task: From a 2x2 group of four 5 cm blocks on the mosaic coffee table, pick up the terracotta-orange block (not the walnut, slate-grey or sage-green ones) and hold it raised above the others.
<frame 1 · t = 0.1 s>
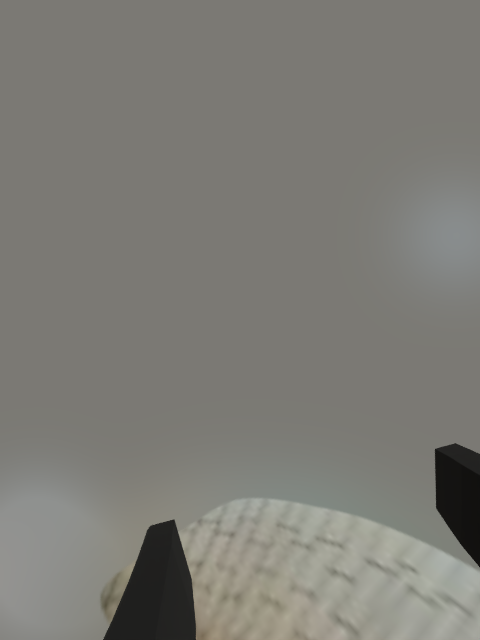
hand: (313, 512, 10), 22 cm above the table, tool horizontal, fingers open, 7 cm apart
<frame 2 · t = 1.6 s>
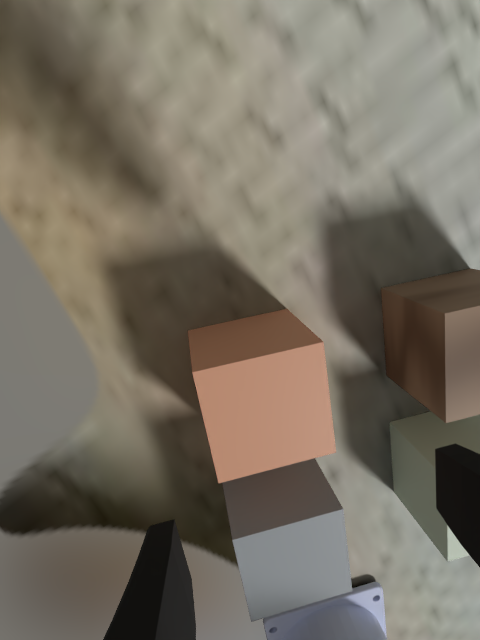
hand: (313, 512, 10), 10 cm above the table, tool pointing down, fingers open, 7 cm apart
terracotta block: (246, 364, 20), on the table
walnut block: (426, 322, 21), on the table
slate block: (269, 489, 22), on the table
sage block: (429, 446, 23), on the table
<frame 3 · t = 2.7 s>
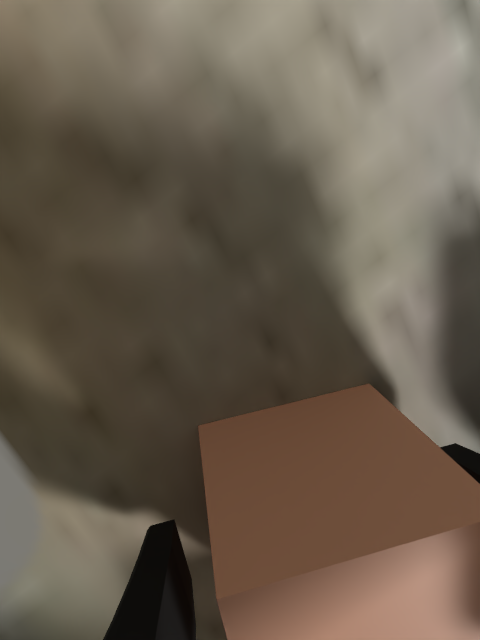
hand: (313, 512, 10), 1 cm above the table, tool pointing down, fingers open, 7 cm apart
terracotta block: (296, 474, 12), on the table
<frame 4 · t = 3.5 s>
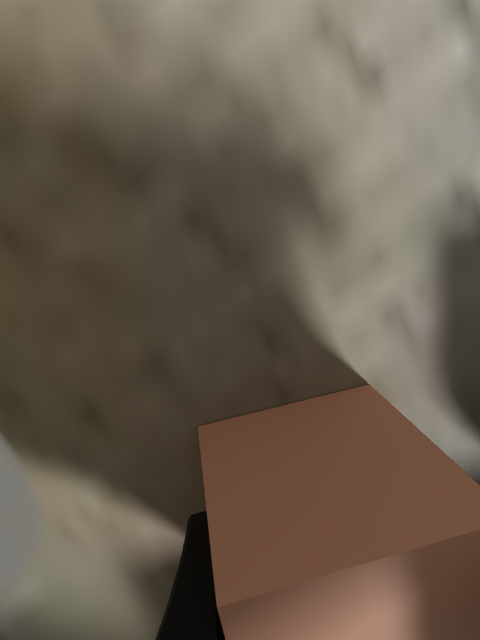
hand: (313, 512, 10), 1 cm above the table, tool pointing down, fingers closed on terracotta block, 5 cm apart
terracotta block: (296, 477, 12), on the table, touching gripper
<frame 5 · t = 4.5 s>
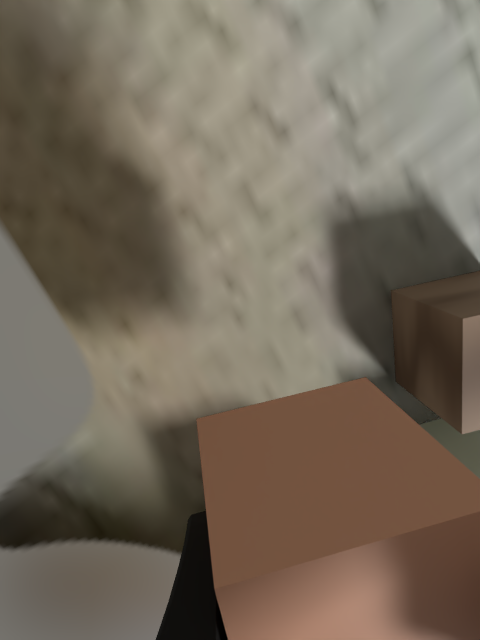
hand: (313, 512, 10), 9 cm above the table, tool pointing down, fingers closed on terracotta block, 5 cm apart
terracotta block: (294, 469, 12), point 7 cm above the table, touching gripper
walnut block: (437, 326, 20), on the table
sage block: (439, 455, 22), on the table
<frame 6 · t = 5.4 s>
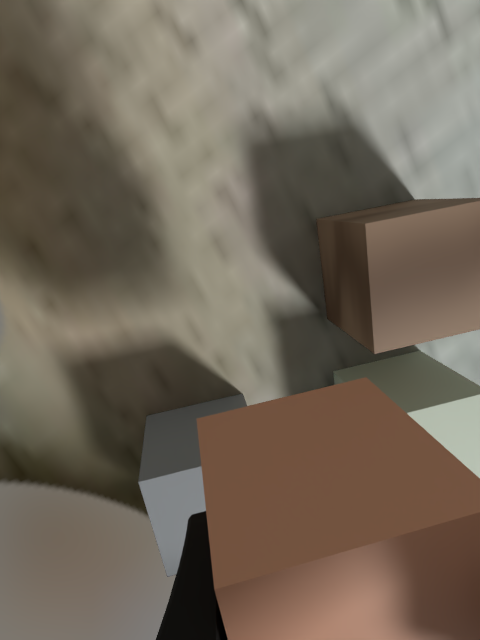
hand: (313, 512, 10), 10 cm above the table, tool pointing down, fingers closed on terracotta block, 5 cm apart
terracotta block: (294, 469, 12), point 8 cm above the table, touching gripper
walnut block: (369, 260, 19), on the table
slate block: (204, 444, 21), on the table
sage block: (379, 400, 22), on the table
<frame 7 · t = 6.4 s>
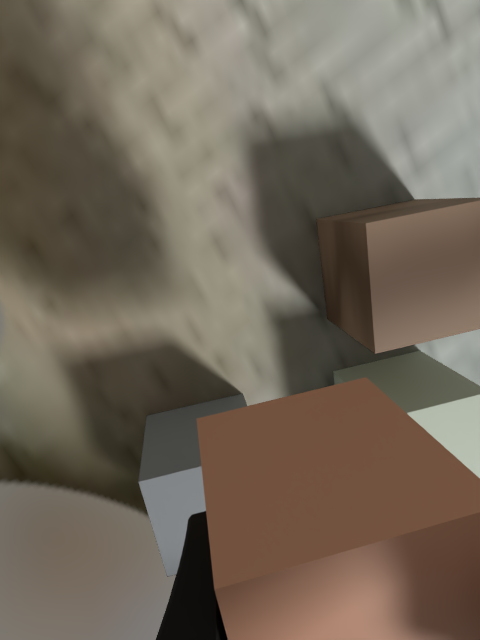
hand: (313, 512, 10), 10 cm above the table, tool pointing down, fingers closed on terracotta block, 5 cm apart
terracotta block: (294, 469, 12), point 8 cm above the table, touching gripper
walnut block: (369, 260, 19), on the table
slate block: (204, 444, 21), on the table
sage block: (379, 400, 22), on the table
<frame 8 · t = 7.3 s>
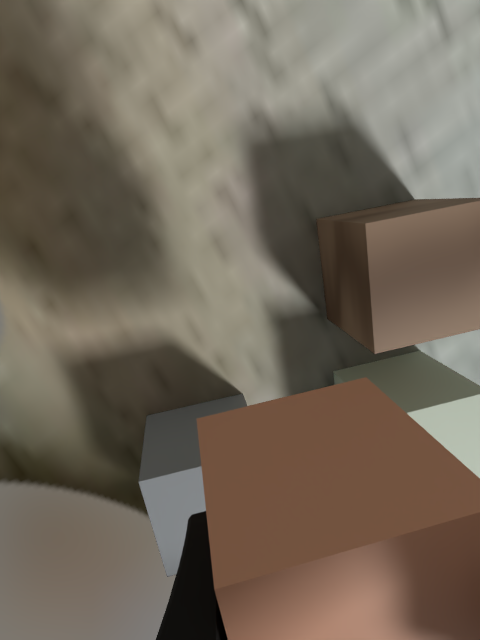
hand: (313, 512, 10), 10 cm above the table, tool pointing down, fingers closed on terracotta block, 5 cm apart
terracotta block: (294, 469, 12), point 8 cm above the table, touching gripper
walnut block: (369, 260, 19), on the table
slate block: (204, 444, 21), on the table
sage block: (379, 400, 22), on the table
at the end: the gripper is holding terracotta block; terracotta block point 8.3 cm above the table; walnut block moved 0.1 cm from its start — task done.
